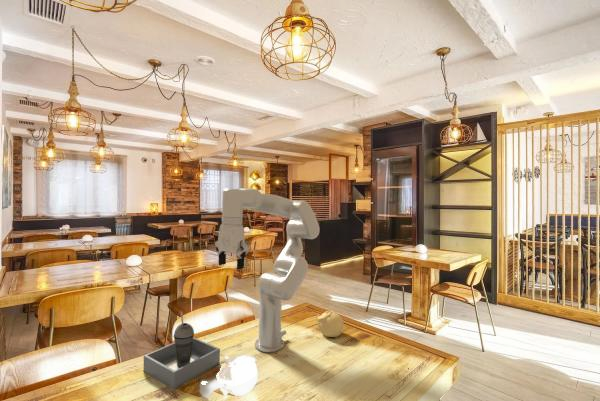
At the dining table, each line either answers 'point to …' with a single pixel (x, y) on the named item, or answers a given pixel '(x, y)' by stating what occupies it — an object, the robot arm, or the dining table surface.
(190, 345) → the beverage cup
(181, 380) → the walled bin
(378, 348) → the dining table surface
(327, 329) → the sculpture
